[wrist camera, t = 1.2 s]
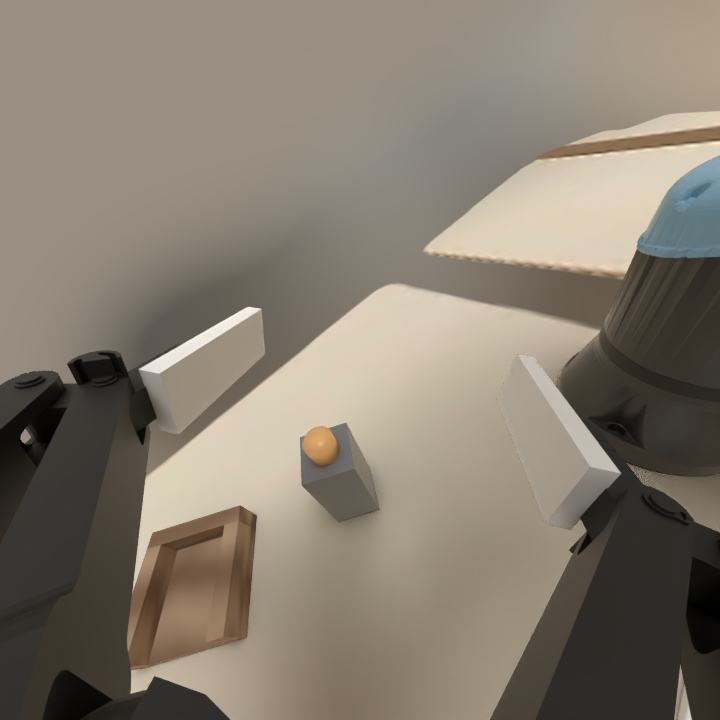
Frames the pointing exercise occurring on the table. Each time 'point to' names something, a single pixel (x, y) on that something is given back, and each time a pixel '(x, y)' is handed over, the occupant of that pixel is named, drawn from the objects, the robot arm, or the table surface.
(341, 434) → the connector plug
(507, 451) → the table surface
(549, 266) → the table surface
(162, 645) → the holder
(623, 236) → the table surface
